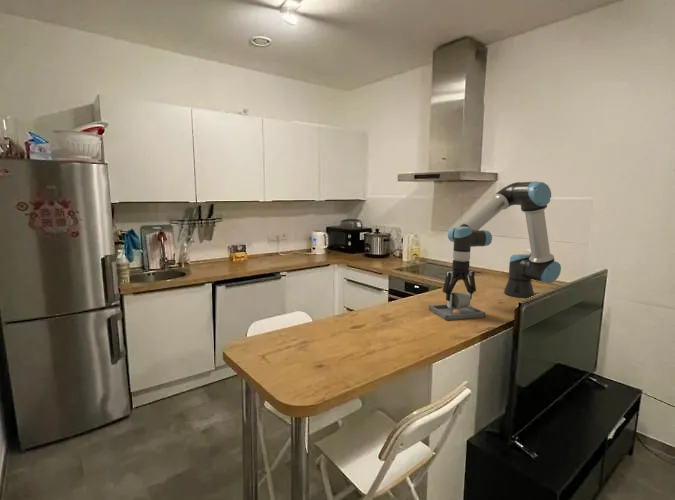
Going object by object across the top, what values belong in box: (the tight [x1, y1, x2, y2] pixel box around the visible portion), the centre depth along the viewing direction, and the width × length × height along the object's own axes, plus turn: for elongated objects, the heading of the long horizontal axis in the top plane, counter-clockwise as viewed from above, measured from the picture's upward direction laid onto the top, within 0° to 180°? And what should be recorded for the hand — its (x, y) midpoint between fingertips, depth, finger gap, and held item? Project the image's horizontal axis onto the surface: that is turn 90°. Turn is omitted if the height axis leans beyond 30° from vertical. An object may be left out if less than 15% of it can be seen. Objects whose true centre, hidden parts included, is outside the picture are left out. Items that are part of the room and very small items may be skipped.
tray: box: [428, 303, 486, 321], centre depth 177 cm, size 20×16×2 cm
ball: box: [453, 309, 460, 314], centre depth 171 cm, size 3×3×3 cm
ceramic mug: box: [445, 291, 471, 309], centre depth 177 cm, size 11×8×8 cm
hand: (458, 306), depth 176 cm, fingers closed on ceramic mug, 9 cm apart
